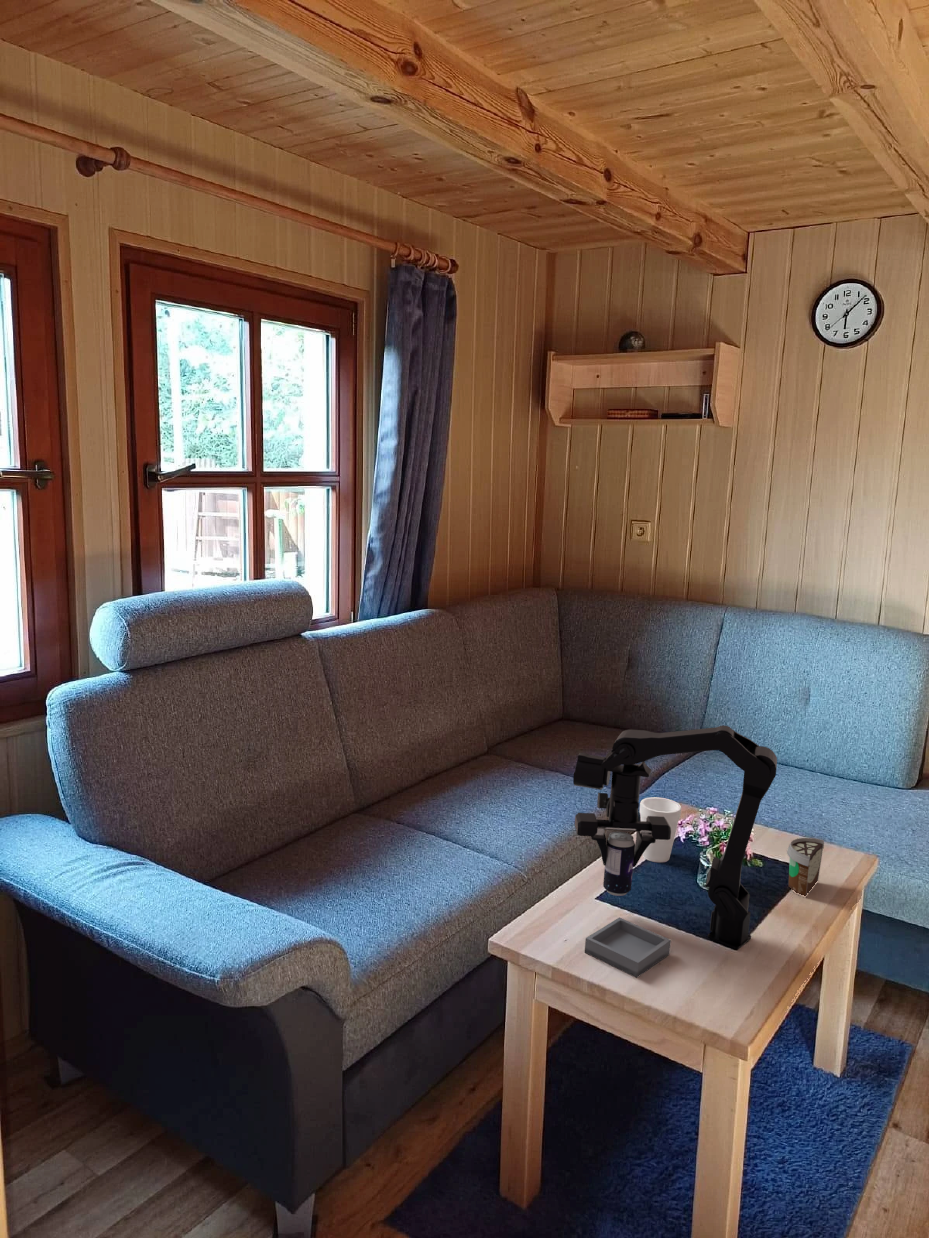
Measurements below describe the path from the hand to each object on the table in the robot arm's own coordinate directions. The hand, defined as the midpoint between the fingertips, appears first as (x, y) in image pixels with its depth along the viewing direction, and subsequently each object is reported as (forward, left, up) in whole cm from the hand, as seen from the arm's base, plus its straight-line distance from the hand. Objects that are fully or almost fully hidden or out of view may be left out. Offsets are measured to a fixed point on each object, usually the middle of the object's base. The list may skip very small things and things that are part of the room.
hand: (619, 865), depth 189 cm
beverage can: (0, 0, -6) cm, 6 cm away
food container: (-21, -42, -11) cm, 48 cm away
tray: (-10, +11, -11) cm, 18 cm away
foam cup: (+9, -31, -11) cm, 34 cm away
